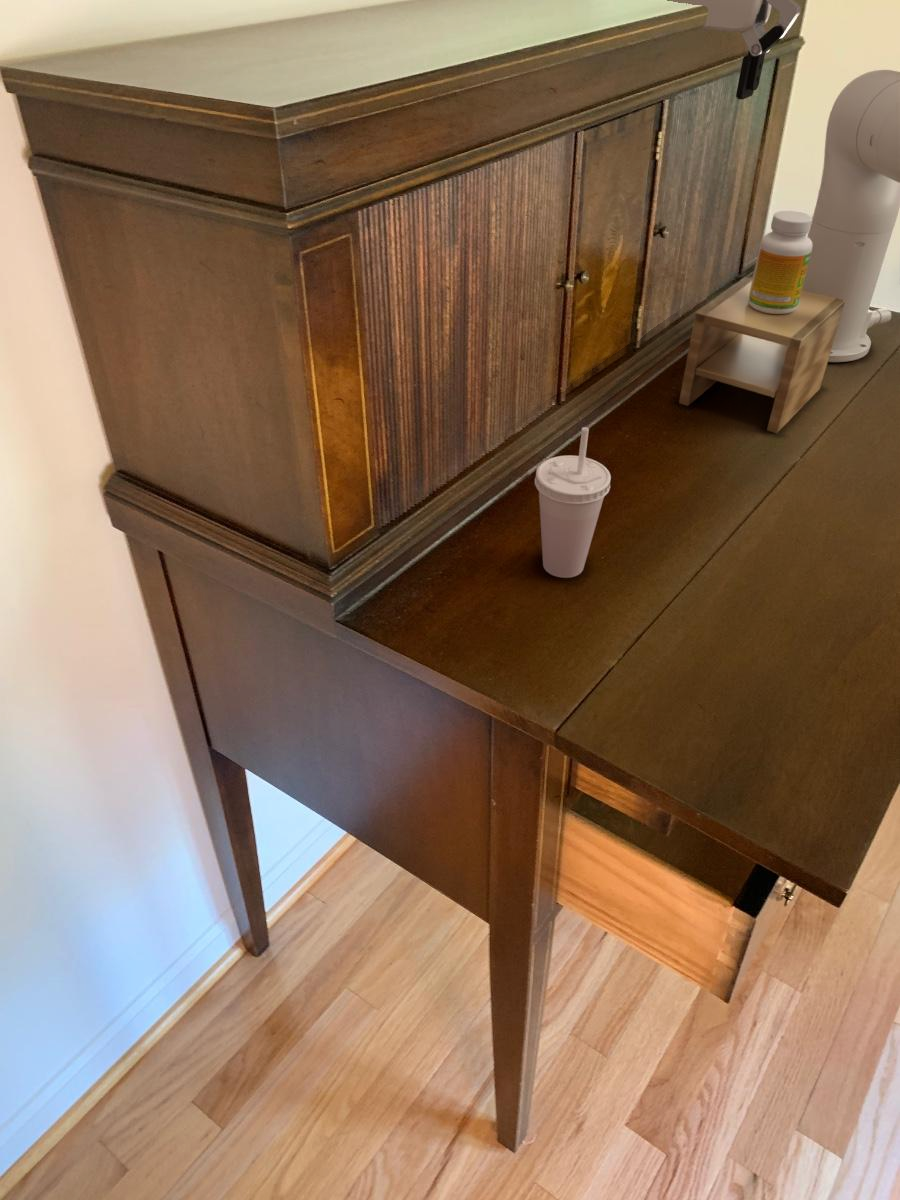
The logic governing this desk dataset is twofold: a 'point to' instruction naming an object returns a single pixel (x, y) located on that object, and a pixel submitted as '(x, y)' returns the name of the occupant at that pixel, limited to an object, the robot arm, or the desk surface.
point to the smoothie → (569, 508)
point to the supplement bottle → (781, 264)
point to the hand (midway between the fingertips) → (701, 91)
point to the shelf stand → (762, 349)
